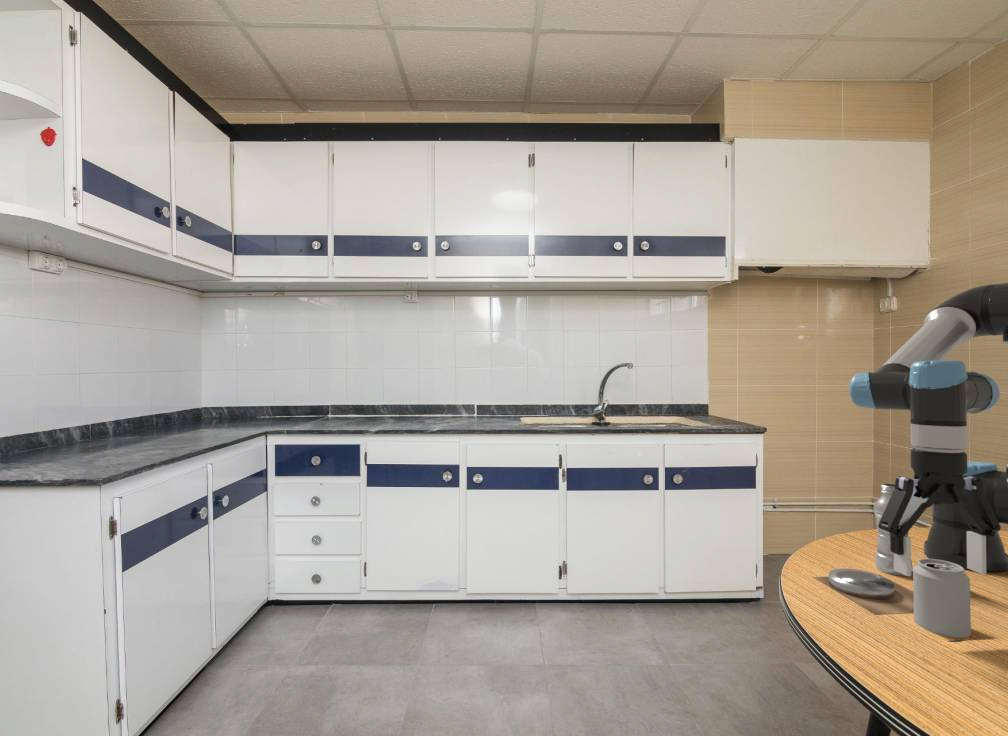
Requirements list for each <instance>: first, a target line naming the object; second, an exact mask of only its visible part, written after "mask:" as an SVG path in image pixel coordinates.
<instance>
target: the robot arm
mask: <svg viewBox="0 0 1008 736" xmlns="http://www.w3.org/2000/svg"><path fill="white" fill-rule="evenodd" d="M985 336H1002V344H1004V345H1005V346H1007V347H1008V282H1003V283H995V284H987V285H984V284H983V285H979V286H976V287H973V288H969V289H967V290H964V291H962V292H960V293H958V294H956V295H954V296H951V297H949V298H948V299H947V300H944V301H943V302H942V303H939V304H938V305H937V306H936V307H934V308H933V309H932V310H931V311H930V312H929V313H928V314H927V315H926V316H925V318H924V320H923V325H922V326H921V327H920V328H919V329H918V330H917V332H915V333H914V334H913V335H912V336H911V337H910V338H909V339H908V340H907V341H906V342H905V343H903V345H901V347H899V349H898V350H897V351H895V353H894V354H892V356H890V358H888V359H887V360H886V361H885V363H883V364H882V365H881V366H880V367H879V368H878V369H877V370H875V371H874V372H871V371H867V372H859V373H855V375H853V377H852V378H851V380H850V383H849V395H850V399H851V401H852V403H853V404H854V405H855V406H857V407H859V408H865V409H866V408H867V409H874V410H892V411H893V410H895V411H897V410H898V411H910V445H911V446H913V447H914V448H912V449H911V450H910V468H911V470H912V471H913V472H914V473H913V474H914V475H913V477H912V478H910V477H906V476H905V477H903V476H901V475H898V476H896V477H895V480H894V481H895V482H894V484H895V489H894V491H893V493H892V496H891V498H890V500H889V502H888V504H887V507H886V509H885V511H884V513H883V515H882V517H881V520H880V522H879V524H878V527H879V528H880V529H882V530H885V531H887V532H889V533H890V543H891V544H890V549H891V552H893V553H894V570H895V571H897V572H899V573H901V574H904V575H906V577H912V574H911V560H912V543H911V541H912V539H911V537H910V536H909V535H908V536H905V535H906V534H907V533H908V534H909V531H910V530H911V529H912V528H913V526H914V525H915V524H916V522H917V521H918V520H919V519H920V517H921V516H922V515H923V513H924V512H925V511H926V510H927V509H928V508H930V507H931V508H932V524H931V526H930V529H929V532H928V535H927V539H926V540H925V541H924V542H923V543H924V544H923V554H924V555H925V556H926V557H927V558H928V559H938V560H943V561H948V562H951V563H955V564H957V565H960V566H961V567H963V568H964V569H967V570H971V571H972V572H976V573H978V574H981V575H987V572H993V573H995V572H1004V571H1005V572H1006V571H1007V570H1008V553H1007V552H1006V550H1005V547H1004V544H1003V541H1002V539H1001V538H1002V537H1000V534H999V533H1000V532H999V531H1001V528H1002V526H1001V524H1005V525H1008V463H1007V464H1006V465H1005V471H1001V470H999V467H998V466H997V464H996V463H994V462H987V461H986V462H985V461H968V454H967V453H966V452H965V451H964V450H966V449H968V426H967V425H968V423H967V418H968V416H967V414H972V415H973V414H978V413H981V412H984V411H988V410H989V409H991V408H992V407H994V406H995V405H996V404H997V402H998V401H999V398H1000V394H1001V393H1000V391H1001V390H1000V388H999V385H998V384H997V382H996V381H995V380H994V379H993V378H991V377H990V376H989V375H987V374H983V373H979V372H977V371H967V367H966V363H964V362H963V361H961V360H949V359H948V360H946V358H948V356H949V355H950V353H952V352H953V351H954V350H955V349H956V348H957V346H958V345H959V346H960V345H962V344H965V343H967V342H969V341H970V340H971V339H972V338H976V337H977V338H978V337H985ZM888 524H889V525H888ZM899 527H900V528H899Z"/></svg>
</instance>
